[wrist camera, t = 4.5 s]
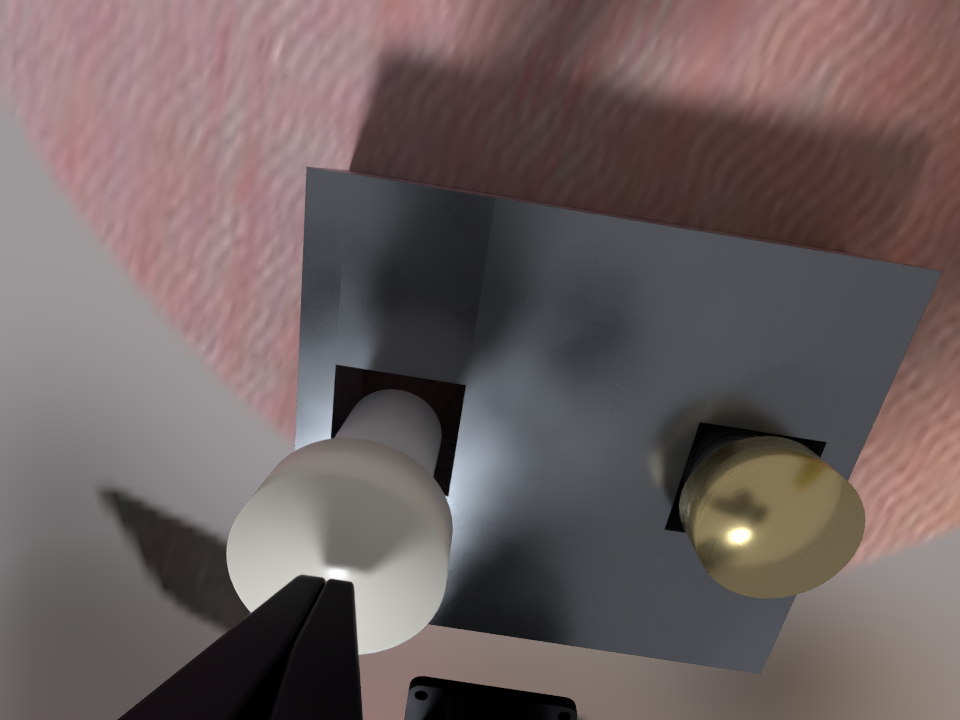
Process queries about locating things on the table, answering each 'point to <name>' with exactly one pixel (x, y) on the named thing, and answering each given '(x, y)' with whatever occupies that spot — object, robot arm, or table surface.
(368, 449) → the knob ivory
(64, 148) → the table surface
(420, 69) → the table surface
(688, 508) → the knob brass
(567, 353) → the mount
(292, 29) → the table surface
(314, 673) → the robot arm
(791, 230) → the table surface
